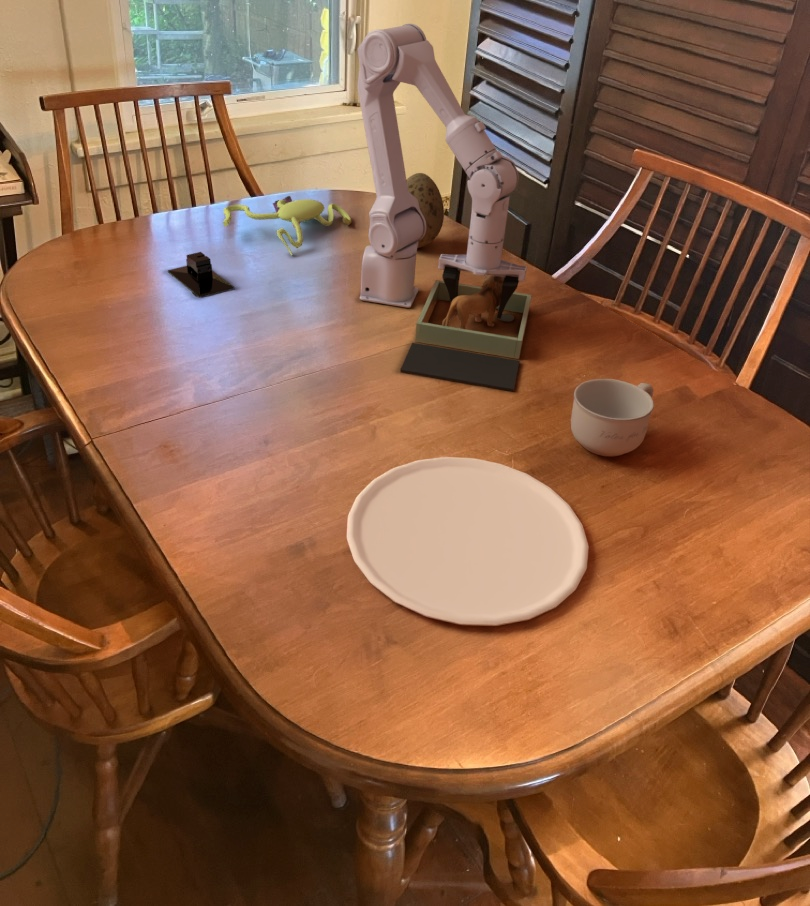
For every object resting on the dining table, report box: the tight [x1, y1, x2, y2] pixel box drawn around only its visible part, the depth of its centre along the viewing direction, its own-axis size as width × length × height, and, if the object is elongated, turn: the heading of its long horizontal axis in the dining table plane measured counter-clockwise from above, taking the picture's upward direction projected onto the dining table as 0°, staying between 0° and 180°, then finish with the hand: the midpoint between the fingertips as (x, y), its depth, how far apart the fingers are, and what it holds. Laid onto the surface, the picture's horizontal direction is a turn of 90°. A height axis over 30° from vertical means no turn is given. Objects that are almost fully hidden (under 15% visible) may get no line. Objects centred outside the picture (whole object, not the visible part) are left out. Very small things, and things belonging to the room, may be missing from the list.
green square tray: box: [414, 279, 533, 360], centre depth 139 cm, size 18×18×4 cm
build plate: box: [167, 251, 235, 298], centre depth 146 cm, size 12×7×5 cm, turn 39°
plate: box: [346, 456, 590, 627], centre depth 97 cm, size 29×29×1 cm
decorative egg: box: [406, 172, 445, 249], centre depth 162 cm, size 11×11×15 cm
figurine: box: [222, 195, 352, 256], centre depth 167 cm, size 18×27×6 cm
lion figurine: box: [441, 274, 505, 329], centre depth 137 cm, size 15×5×9 cm, turn 138°
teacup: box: [570, 378, 655, 457], centre depth 113 cm, size 14×11×8 cm
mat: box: [399, 342, 521, 393], centre depth 129 cm, size 18×9×1 cm, turn 78°
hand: (476, 312), depth 138 cm, fingers open, 7 cm apart
